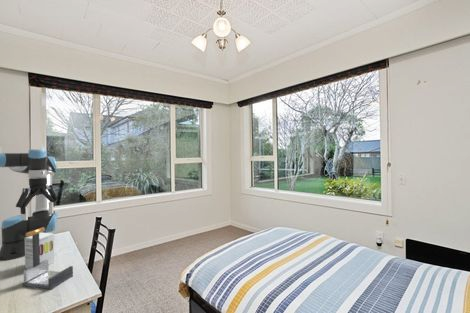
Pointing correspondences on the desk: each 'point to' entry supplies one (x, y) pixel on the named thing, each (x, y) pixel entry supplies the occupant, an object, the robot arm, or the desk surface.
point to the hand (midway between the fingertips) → (38, 216)
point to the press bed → (49, 279)
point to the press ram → (35, 257)
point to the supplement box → (40, 249)
